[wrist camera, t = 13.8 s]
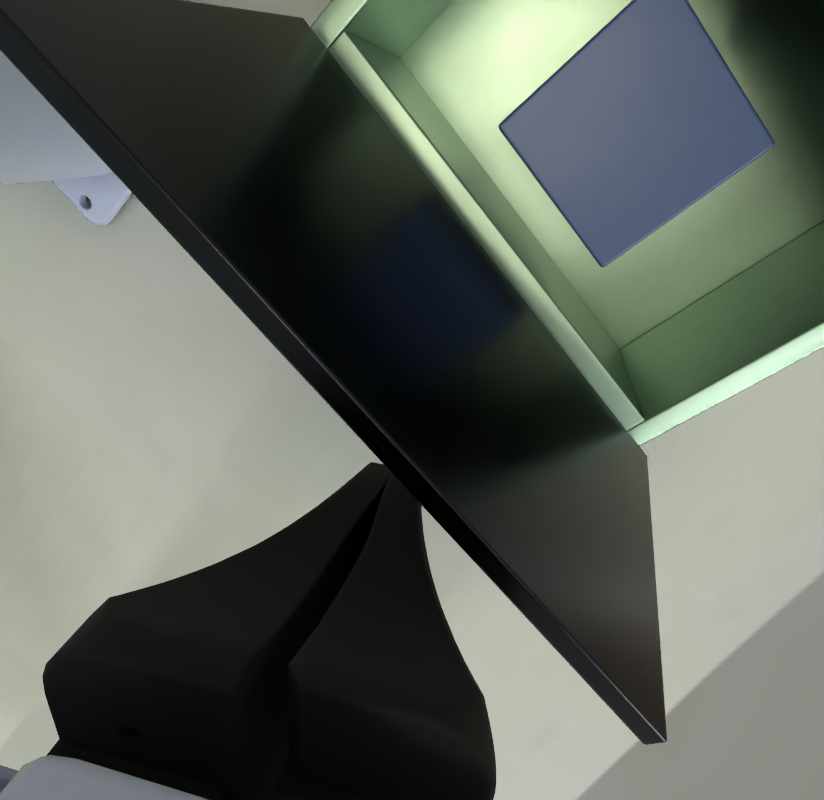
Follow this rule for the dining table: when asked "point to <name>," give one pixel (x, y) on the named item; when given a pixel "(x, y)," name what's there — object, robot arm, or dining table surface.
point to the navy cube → (636, 127)
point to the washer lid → (372, 303)
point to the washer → (659, 252)
